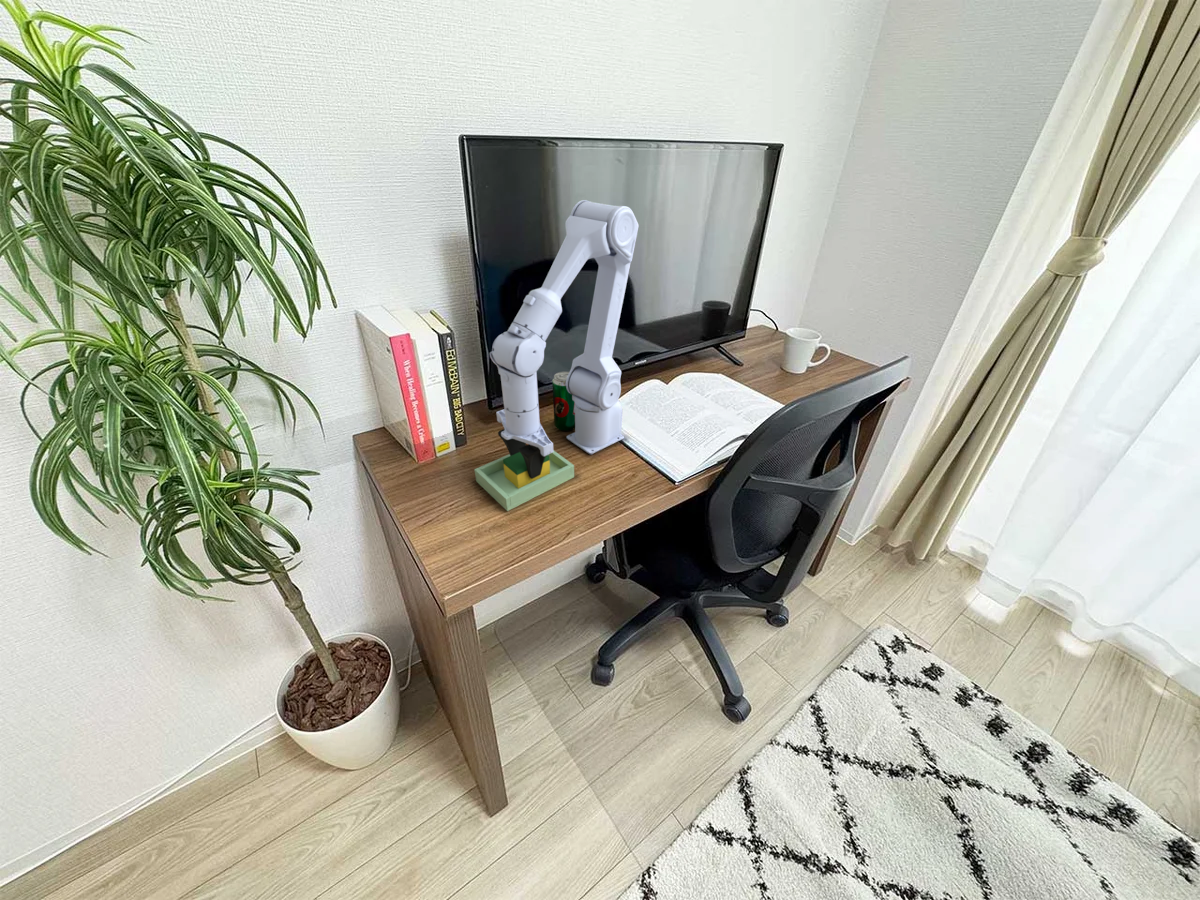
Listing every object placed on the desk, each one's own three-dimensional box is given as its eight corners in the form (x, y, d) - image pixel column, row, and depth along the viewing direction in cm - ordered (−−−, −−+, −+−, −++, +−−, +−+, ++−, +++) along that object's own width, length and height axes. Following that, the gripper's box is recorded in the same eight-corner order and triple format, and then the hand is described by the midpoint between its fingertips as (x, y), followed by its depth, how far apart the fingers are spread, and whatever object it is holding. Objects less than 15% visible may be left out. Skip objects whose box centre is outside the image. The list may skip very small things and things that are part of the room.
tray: (541, 451, 95) (540, 440, 93) (574, 477, 88) (574, 465, 87) (476, 481, 87) (474, 469, 85) (507, 511, 80) (505, 498, 79)
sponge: (536, 462, 90) (535, 445, 88) (550, 473, 88) (549, 455, 85) (504, 476, 87) (502, 459, 84) (518, 488, 84) (516, 470, 82)
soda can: (579, 431, 101) (579, 380, 94) (556, 433, 100) (553, 382, 93) (575, 418, 105) (574, 369, 98) (552, 421, 104) (550, 371, 97)
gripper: (477, 395, 81) (487, 459, 89) (525, 430, 72) (531, 498, 80) (513, 383, 85) (519, 445, 92) (562, 415, 76) (564, 481, 84)
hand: (527, 469), depth 86 cm, fingers closed on sponge, 4 cm apart
